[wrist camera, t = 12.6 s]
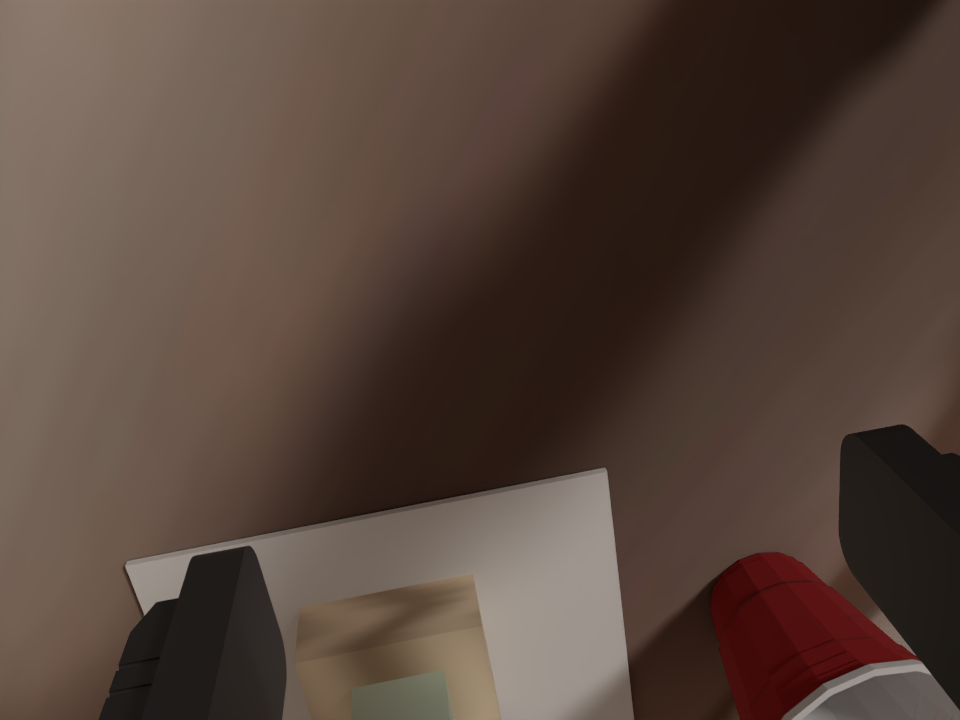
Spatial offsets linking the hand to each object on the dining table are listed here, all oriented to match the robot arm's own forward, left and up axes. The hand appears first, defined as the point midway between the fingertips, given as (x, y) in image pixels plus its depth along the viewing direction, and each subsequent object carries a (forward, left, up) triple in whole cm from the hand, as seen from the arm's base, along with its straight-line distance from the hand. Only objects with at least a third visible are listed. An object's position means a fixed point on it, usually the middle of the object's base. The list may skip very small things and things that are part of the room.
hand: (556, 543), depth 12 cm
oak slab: (+6, +26, -28) cm, 38 cm away
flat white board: (+6, +26, -28) cm, 39 cm away
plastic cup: (-14, +27, -28) cm, 41 cm away
